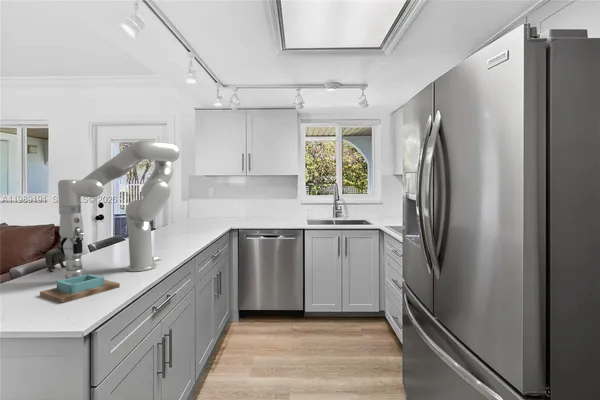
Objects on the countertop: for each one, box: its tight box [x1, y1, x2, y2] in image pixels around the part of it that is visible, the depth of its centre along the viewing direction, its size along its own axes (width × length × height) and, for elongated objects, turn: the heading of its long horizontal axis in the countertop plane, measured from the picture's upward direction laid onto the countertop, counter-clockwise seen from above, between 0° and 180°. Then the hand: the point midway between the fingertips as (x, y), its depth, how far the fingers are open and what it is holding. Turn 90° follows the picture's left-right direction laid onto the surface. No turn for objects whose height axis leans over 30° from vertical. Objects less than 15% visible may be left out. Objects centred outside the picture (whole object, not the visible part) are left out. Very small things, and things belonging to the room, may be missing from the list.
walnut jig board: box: [39, 273, 121, 304], centre depth 131 cm, size 20×16×4 cm
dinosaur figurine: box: [42, 244, 66, 273], centre depth 164 cm, size 22×8×11 cm, turn 179°
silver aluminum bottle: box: [63, 238, 85, 279], centre depth 144 cm, size 6×7×20 cm
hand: (71, 252), depth 144 cm, fingers open, 9 cm apart
